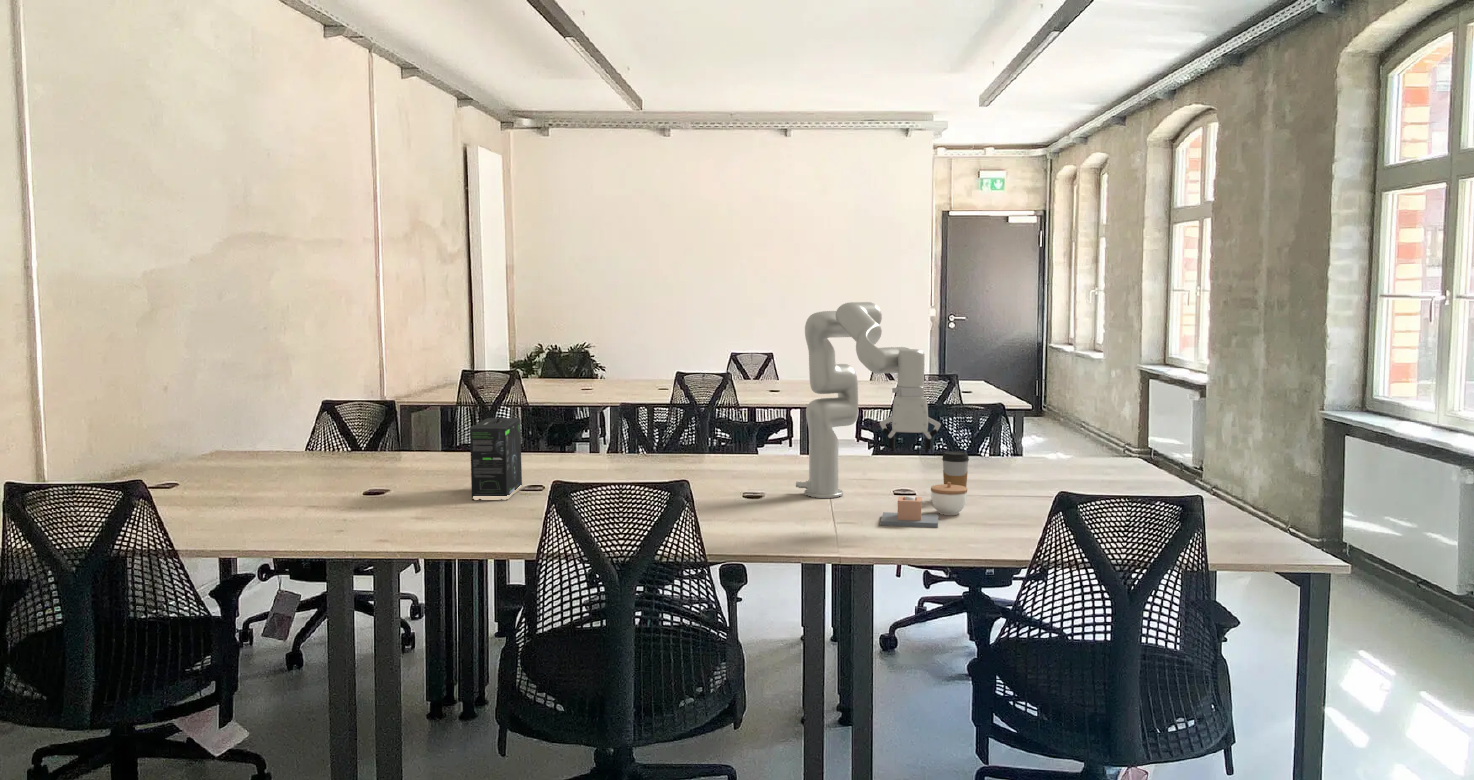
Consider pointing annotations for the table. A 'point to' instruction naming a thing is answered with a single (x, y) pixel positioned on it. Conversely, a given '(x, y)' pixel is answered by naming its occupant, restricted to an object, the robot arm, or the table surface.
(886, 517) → the board
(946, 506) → the lidded jar
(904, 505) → the collar
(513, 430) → the headset box
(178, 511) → the table surface
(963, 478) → the coffee cup
